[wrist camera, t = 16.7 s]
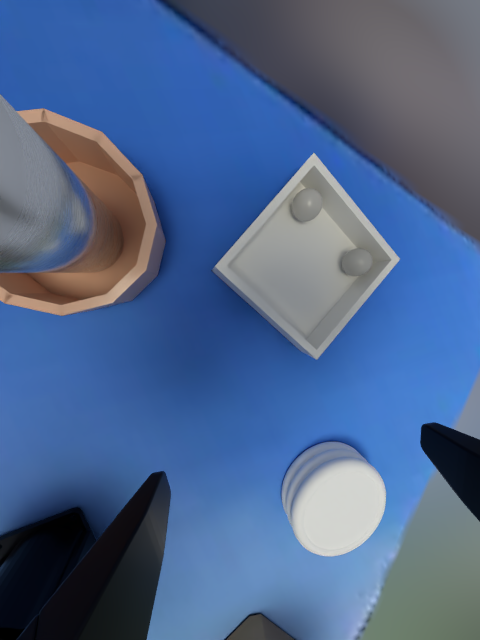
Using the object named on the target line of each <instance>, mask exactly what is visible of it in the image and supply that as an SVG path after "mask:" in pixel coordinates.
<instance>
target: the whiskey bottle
mask: <svg viewBox="0 0 480 640" xmlns="http://www.w3.org/2000/svg"><path fill="white" fill-rule="evenodd" d="M226 640H294V639H293V638H292V637H290V636H289V635H288V634H286V633H285V632H284V631H282V630H281V629H280V628H278V627H277V626H276V625H274V624H273V623H272V622H270V621H269V620H268V619H266V618H265V617H264V616H262V615H261V614H259V615H254V616H249V617H248V618H247V619H246V620H245V621H244V622H243V623H242V624H241V625H240V626H239V627H238V628H237V629H236V630H235V631H234V632H233V633H232V634H231V635H230V636H229V637H228V638H227V639H226Z"/></svg>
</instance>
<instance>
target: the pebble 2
mask: <svg viewBox="0 0 480 640" xmlns="http://www.w3.org/2000/svg"><path fill="white" fill-rule="evenodd" d="M372 263H373V258H372V255H371V254H370V252H369V251H367V250H365V249H362V248H356V249H352V250H350V251H349V252H348V253H346V255H345V256H344V257H343V260H342V268H343V270H344V271H345V273H347V274H348V275H350V276H361V275H363V274H365V273H367V272H368V271H369V270H370V268H371V266H372Z"/></svg>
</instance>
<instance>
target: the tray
mask: <svg viewBox="0 0 480 640" xmlns="http://www.w3.org/2000/svg"><path fill="white" fill-rule="evenodd" d="M305 188H313V189H315V190H317V191H318V192H319V193H320V194H321V196H322V201H323V205H322V209H321V211H320V213H319V214H318V215H317V217H315V218H314V219H312V220H310V221H300V220H298V219H297V218H296V217H295V216H294V214H293V212H292V201H293V199H294V197H295V195H296V194H297V193H298V192H299V191H301V190H303V189H305ZM356 248H362V249H365V250H367V251H369V252H370V254H371V255H372V258H373V263H372V266H371V268H370V270H369V271H368V272H367V273H365V274H363V275H361V276H350V275H348V274H347V273H345V271H344V270H343V268H342V260H343V257H344V256H345V255H346V253H348V252H349V251H350V250H352V249H356ZM399 260H400V259H399V257H398V256H397V255H396V254H395V252H394V251H393V250H392V249H391V247H390V246H389V245H388V244H387V242H386V241H385V240H384V239H383V238H382V236H381V235H380V234H379V233H378V231H377V230H376V229H375V228H374V226H373V225H372V224H371V223H370V221H369V220H368V219H367V218H366V216H365V215H364V214H363V213H362V212H361V210H360V209H359V208H358V207H357V205H356V204H355V203H354V202H353V200H352V199H351V198H350V197H349V195H348V194H347V193H346V192H345V190H344V189H343V188H342V187H341V185H340V184H339V183H338V182H337V181H336V179H335V178H334V177H333V176H332V174H331V173H330V172H329V171H328V169H327V168H326V167H325V166H324V164H323V163H322V162H321V161H320V159H319V158H318V157H317V156H316V155H315V153H313V154H312V155H311V157H310V158H309V159H308V160H307V161H306V162H305V163H304V165H303V166H302V167H301V168H300V169H299V170H298V172H297V173H296V174H295V175H294V176H293V177H292V178H291V180H290V181H289V182H288V183H287V184H286V185H285V186H284V188H283V189H282V190H281V191H280V192H279V193H278V194H277V196H276V197H275V198H274V199H273V200H272V201H271V203H270V204H269V205H268V206H267V207H266V208H265V209H264V211H263V212H262V213H261V214H260V215H259V216H258V217H257V219H256V220H255V221H254V222H253V223H252V224H251V225H250V227H249V228H248V229H247V230H246V231H245V232H244V234H243V235H242V236H241V237H240V238H239V239H238V240H237V242H236V243H235V244H234V245H233V246H232V247H231V248H230V250H229V251H228V252H227V253H226V254H225V255H224V256H223V258H222V259H221V260H220V261H219V262H218V263H217V264H216V266H215V267H214V268H213V269H212V270H211V271H213V272H214V273H215V274H216V275H217V276H218V277H219V278H220V279H221V280H223V281H224V282H225V283H226V284H227V285H228V286H229V287H230V288H231V289H232V290H234V291H235V292H236V293H237V294H238V295H239V296H240V297H241V298H242V299H244V300H245V301H246V302H247V303H248V304H249V305H250V306H251V307H252V308H253V309H255V310H256V311H257V312H258V313H259V314H260V315H261V316H262V317H263V318H265V319H266V320H267V321H268V322H269V323H270V324H271V325H272V326H273V327H274V328H276V329H277V330H278V331H279V332H280V333H281V334H282V335H283V336H284V337H286V338H287V339H288V340H289V341H290V342H291V343H292V344H293V345H294V346H295V347H297V348H298V349H299V350H300V351H302V352H303V353H305V354H307V355H309V356H311V357H313V358H314V359H316V360H317V359H318V358H319V357H320V355H321V354H322V353H323V352H324V351H325V349H326V348H327V347H328V346H329V345H330V343H331V342H332V341H333V340H334V338H335V337H336V336H337V335H338V334H339V332H340V331H341V330H342V329H343V328H344V326H345V325H346V324H347V323H348V322H349V320H350V319H351V318H352V317H353V316H354V314H355V313H356V312H357V311H358V309H359V308H360V307H361V306H362V305H363V303H364V302H365V301H366V300H367V299H368V297H369V296H370V295H371V294H372V293H373V291H374V290H375V289H376V288H377V286H378V285H379V284H380V283H381V282H382V280H383V279H384V278H385V277H386V276H387V274H388V273H389V272H390V271H391V270H392V268H393V267H394V266H395V265H396V264H397V262H398V261H399Z"/></svg>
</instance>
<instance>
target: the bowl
mask: <svg viewBox="0 0 480 640" xmlns="http://www.w3.org/2000/svg"><path fill="white" fill-rule="evenodd" d="M16 112H17V113H18V114H19V115H20V116H21V117H22V118H23V119H24V120H25V121H26V122H27V123H28V124H29V125H30V126H31V127H32V128H33V129H34V131H35V132H36V133H37V134H38V135H39V136H40V137H41V138H42V139H43V140H44V141H45V142H46V143H47V144H48V145H49V146H50V147H51V148H52V150H53V151H54V152H55V153H56V154H57V155H58V156H59V157H60V158H61V159H62V160H63V161H64V162H65V163H66V164H67V165H68V166H69V167H70V169H71V170H72V171H73V172H74V173H75V174H76V175H77V176H78V177H79V178H80V179H81V180H82V181H83V182H84V183H85V184H86V185H87V186H88V188H89V189H90V190H91V191H92V192H93V193H94V194H95V195H96V196H97V197H98V198H99V199H100V200H101V201H102V202H103V203H104V204H105V205H106V206H107V208H108V209H109V210H110V211H111V212H112V213H113V214H114V215H115V217H116V218H117V220H118V221H119V223H120V226H121V228H122V232H123V238H124V243H123V249H122V252H121V254H120V256H119V258H118V259H117V260H116V262H115V263H114V264H113V265H111V266H110V267H108V268H106V269H104V270H102V271H98V272H93V273H0V300H1V301H2V302H4V303H5V304H10V305H15V306H20V307H24V308H29V309H33V310H38V311H42V312H47V313H52V314H56V315H61V316H64V315H70V314H76V313H81V312H87V311H92V310H96V309H100V308H104V307H108V306H112V305H116V304H120V303H124V302H128V301H132V300H133V299H134V298H135V297H136V296H137V295H138V294H139V293H140V292H141V291H142V290H143V289H144V288H145V287H146V286H148V285H149V284H150V283H151V282H152V281H153V280H154V279H155V278H156V277H157V276H158V272H159V268H160V264H161V259H162V255H163V251H164V247H165V243H166V240H165V236H164V233H163V230H162V226H161V223H160V219H159V216H158V213H157V209H156V206H155V203H154V200H153V198H152V196H151V194H150V191H149V189H148V187H147V184H146V182H145V180H144V178H143V175H142V174H141V173H140V172H139V171H138V170H137V169H136V168H135V167H134V166H133V165H132V163H131V162H130V161H129V160H128V159H127V158H126V157H125V156H124V155H123V154H122V153H121V152H120V151H119V150H118V149H117V147H116V146H115V145H114V144H113V143H112V142H111V141H110V140H109V139H108V138H107V137H106V136H105V135H104V134H103V132H102V131H98V130H96V129H93V128H91V127H88V126H86V125H83V124H81V123H78V122H76V121H73V120H71V119H68V118H66V117H63V116H61V115H58V114H56V113H53V112H51V111H48V110H46V109H35V110H25V111H16Z"/></svg>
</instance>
